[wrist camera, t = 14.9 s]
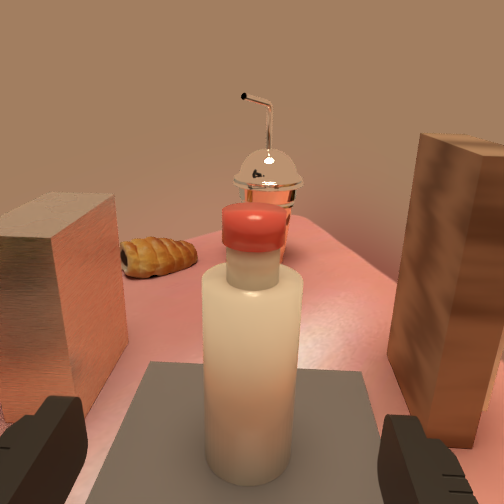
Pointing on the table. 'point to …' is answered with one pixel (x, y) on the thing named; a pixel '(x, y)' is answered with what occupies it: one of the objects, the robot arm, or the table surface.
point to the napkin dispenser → (59, 300)
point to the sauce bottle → (250, 347)
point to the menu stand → (451, 286)
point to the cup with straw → (268, 173)
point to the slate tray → (193, 445)
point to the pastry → (155, 256)
